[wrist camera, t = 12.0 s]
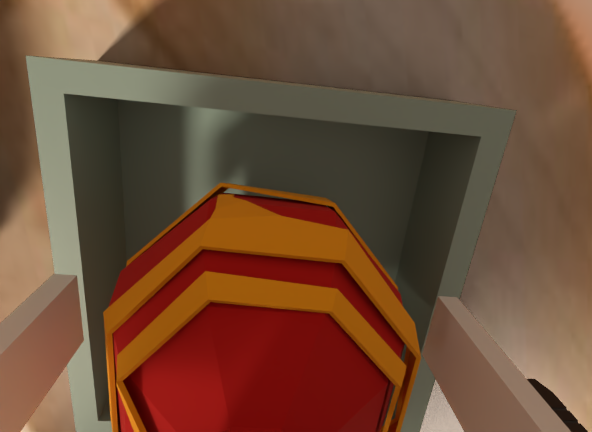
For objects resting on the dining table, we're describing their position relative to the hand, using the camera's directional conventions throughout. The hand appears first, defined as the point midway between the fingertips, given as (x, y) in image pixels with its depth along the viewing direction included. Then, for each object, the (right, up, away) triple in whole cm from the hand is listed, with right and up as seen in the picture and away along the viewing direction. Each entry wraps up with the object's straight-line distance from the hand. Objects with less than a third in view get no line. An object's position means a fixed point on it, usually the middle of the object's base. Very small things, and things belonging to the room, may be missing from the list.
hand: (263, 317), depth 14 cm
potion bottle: (0, +2, +5) cm, 6 cm away
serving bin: (0, +2, +6) cm, 6 cm away
